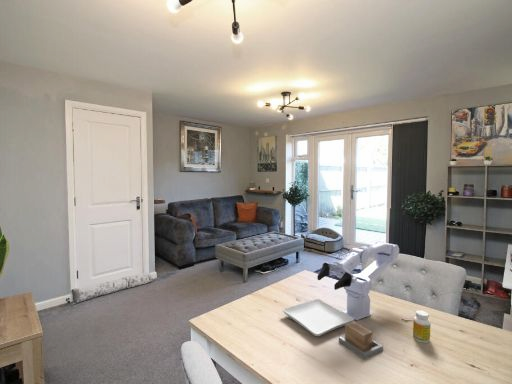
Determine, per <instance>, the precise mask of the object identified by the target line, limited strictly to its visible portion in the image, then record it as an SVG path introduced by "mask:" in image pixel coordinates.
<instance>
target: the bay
mask: <svg viewBox="0 0 512 384" xmlns="http://www.w3.org/2000/svg"><path fill="white" fill-rule="evenodd" d="M338 342H339V343H341V344H343V346H345V347H346V348H348V349H349V350H350V351H352V352H353V353H355V354H356V355H358V356H359V357H361V358H362V359H363V360H365V359H367V358H369V357H371V356H374V355H376V354H378V353H380V352H382V351H384V345H382V344H381V343H379V342H377V341H376V340H375V339H373V338H372V348H371V349H369V350H367V351H365V352H363V351H362V350H360V349H359V348H357V347H356V346H354V345H353V344H351V343H350V342H348V341H347V340H345V337H343V336H339V337H338Z"/></svg>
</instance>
